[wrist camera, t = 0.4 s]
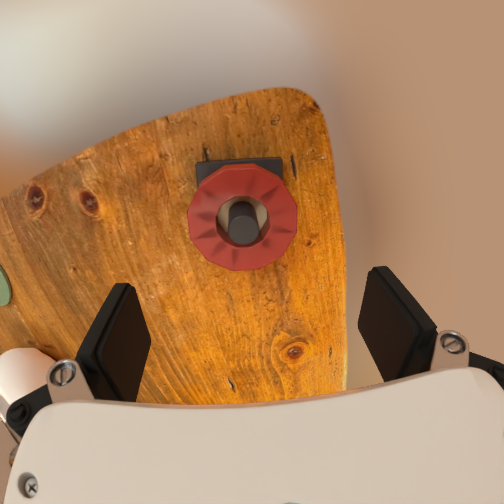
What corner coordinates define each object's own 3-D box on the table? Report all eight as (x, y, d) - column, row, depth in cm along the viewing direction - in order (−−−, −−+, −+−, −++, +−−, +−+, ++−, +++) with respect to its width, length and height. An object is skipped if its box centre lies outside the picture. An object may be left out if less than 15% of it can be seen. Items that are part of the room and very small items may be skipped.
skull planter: (88, 430, 40) (31, 477, 21) (43, 338, 40) (-31, 364, 22) (138, 428, 38) (79, 493, 19) (86, 322, 39) (-3, 353, 20)
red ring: (186, 168, 19) (182, 173, 17) (291, 161, 19) (297, 166, 18) (198, 261, 22) (195, 273, 21) (291, 255, 23) (295, 266, 21)
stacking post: (196, 162, 23) (181, 180, 16) (279, 156, 23) (299, 173, 16) (204, 237, 26) (195, 281, 19) (280, 232, 26) (297, 274, 20)
